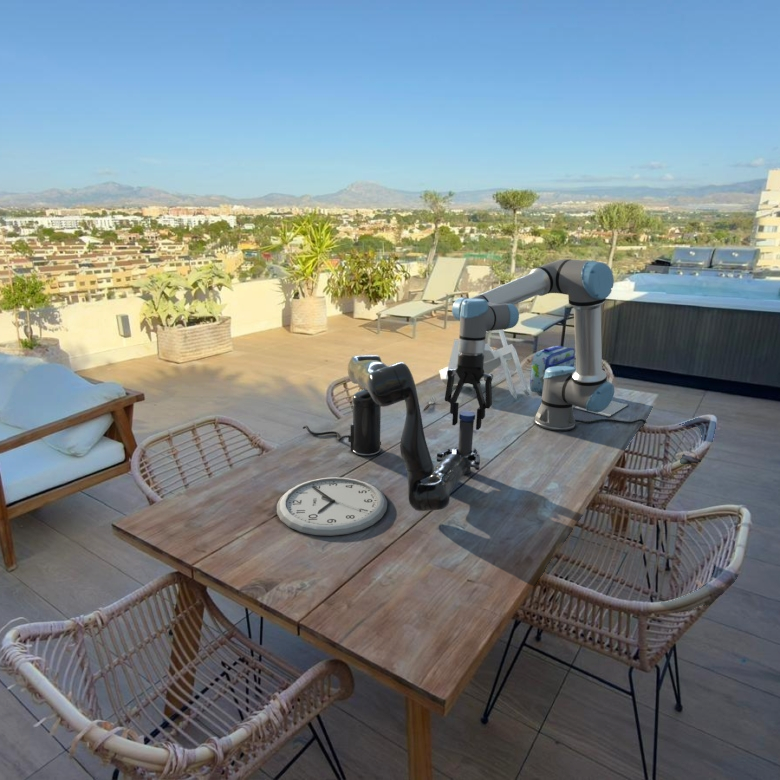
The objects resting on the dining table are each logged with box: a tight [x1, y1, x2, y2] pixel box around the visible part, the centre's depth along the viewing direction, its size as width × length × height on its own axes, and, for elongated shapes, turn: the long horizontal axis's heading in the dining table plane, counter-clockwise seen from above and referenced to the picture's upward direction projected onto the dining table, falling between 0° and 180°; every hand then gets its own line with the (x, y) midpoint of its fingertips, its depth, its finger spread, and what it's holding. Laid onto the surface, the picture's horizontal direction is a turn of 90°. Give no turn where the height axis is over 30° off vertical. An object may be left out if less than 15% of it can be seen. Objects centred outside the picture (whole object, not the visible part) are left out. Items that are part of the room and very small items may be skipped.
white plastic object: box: [438, 329, 531, 400], centre depth 245 cm, size 37×45×31 cm
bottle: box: [457, 419, 475, 475], centre depth 161 cm, size 4×4×19 cm
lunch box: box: [529, 345, 576, 394], centre depth 244 cm, size 26×11×21 cm, turn 135°
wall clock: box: [276, 476, 388, 537], centre depth 142 cm, size 30×2×30 cm
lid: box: [458, 410, 476, 421], centre depth 159 cm, size 5×5×2 cm
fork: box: [422, 395, 437, 412], centre depth 223 cm, size 3×16×2 cm, turn 160°
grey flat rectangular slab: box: [573, 400, 629, 418], centre depth 226 cm, size 21×1×15 cm
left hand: (467, 449), depth 165 cm, fingers closed on bottle, 4 cm apart
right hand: (466, 426), depth 159 cm, fingers open, 7 cm apart
